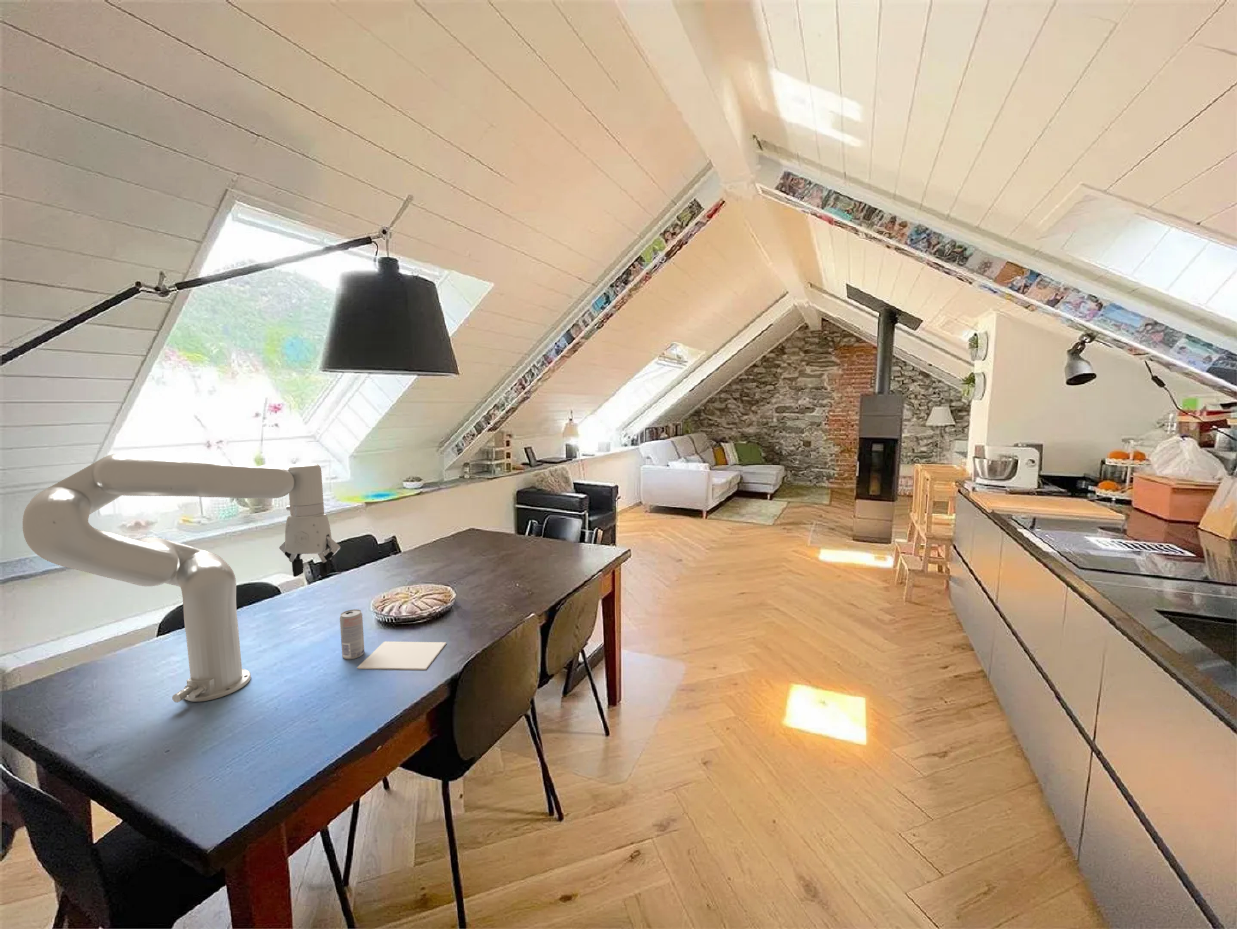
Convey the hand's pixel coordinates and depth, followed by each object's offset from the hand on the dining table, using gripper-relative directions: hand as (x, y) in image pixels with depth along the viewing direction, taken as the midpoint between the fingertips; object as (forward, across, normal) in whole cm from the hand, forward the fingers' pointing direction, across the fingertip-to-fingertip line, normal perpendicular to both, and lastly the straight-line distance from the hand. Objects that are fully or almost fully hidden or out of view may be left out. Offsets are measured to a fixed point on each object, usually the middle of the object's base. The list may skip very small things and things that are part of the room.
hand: (311, 574), depth 129 cm
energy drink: (+23, +10, 0) cm, 25 cm away
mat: (+23, +24, 0) cm, 33 cm away
